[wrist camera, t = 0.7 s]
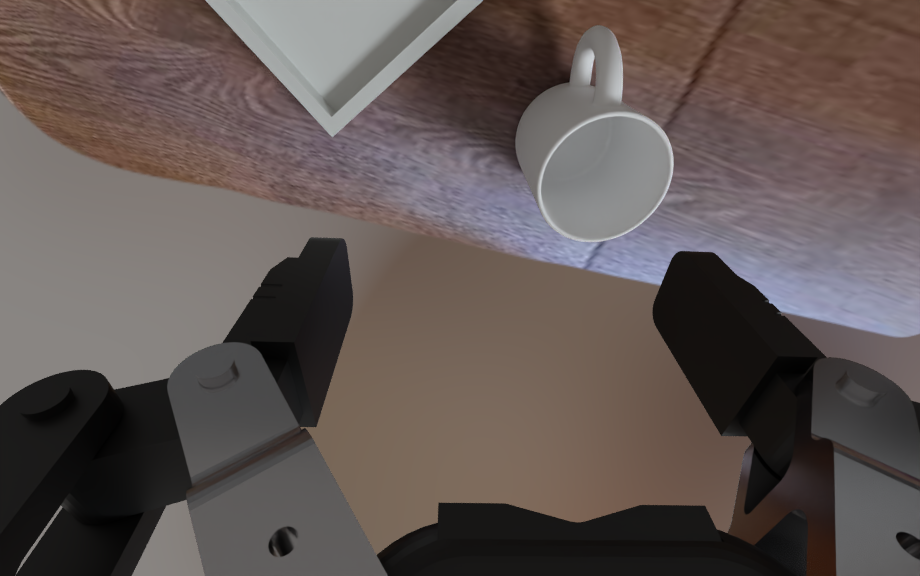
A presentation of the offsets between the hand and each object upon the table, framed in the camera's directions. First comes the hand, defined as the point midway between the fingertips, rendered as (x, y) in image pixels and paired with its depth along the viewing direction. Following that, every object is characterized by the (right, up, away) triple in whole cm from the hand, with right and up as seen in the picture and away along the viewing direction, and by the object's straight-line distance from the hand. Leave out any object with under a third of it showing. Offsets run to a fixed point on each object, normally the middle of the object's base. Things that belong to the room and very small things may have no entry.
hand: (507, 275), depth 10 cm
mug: (+7, +14, +22) cm, 27 cm away
